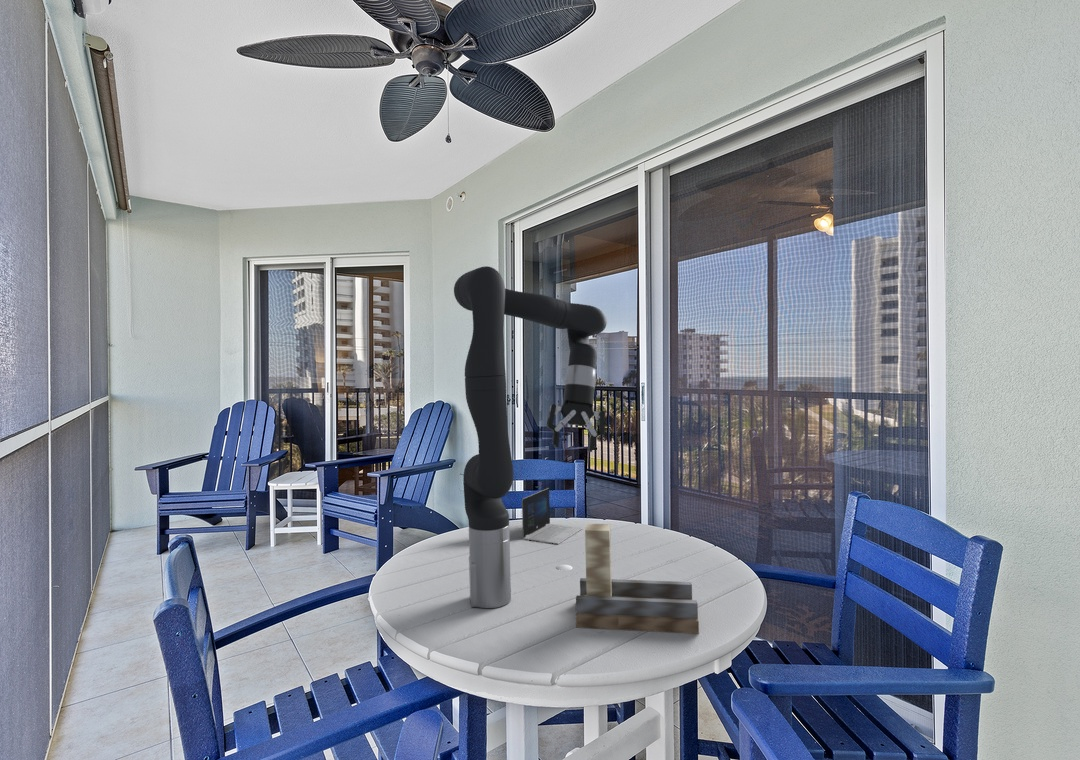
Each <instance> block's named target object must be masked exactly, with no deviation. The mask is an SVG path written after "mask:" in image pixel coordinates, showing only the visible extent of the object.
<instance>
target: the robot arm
mask: <svg viewBox="0 0 1080 760" xmlns="http://www.w3.org/2000/svg"><path fill="white" fill-rule="evenodd" d="M453 295H454V299H455V300H456V302H457V303H458V304H459V305H460V306H461V307H462V309H465V310H467V311H471V313H472V337H471V341H470V345H469V349H468V352H467V355H466V360H465V364H464V388H465V389H464V391H465V398H466V399H465V400H466V403H467V407H468V411H469V413H470V415H471V419H472V422H473V424H474V425H473V426H474V428H475V431H476V436H477V442H478V453H477V454H474V455H472V457H470V458H469V460H468V461H467V462H466V464H465V467H464V470H463V476H462V477H463V479H462V481H463V496H464V497H463V498H464V508H465V509H464V510H465V515H466V516H467V521H468V544H469V545H468V546H469V547H468V549H469V550H468V551H469V556H468V572H469V573H468V575H469V577H468V578H469V579H468V580H469V598H470V606H471V608H482V609H494V608H499V607H503V606H505V605H508V603H510V602H511V600H512V585H511V584H512V583H511V580H512V579H511V578H512V576H511V545H510V544H511V542H510V541H511V540H510V515H509V512H508V510H507V509H506V506H505V505H504V503H503V499H502V498H503V497H506V495H507V494H508V493H509V492H510V490H511V488H512V486H513V482H514V464H513V458H512V452H511V445H510V439H509V427H508V425H509V423H508V408H507V407H508V405H507V404H508V403H507V374H506V362H505V339H504V338H505V337H504V326H505V325H504V324H505V322H504V321H505V316H510V317H515V318H517V319H518V318H519V319H522V320H526V321H529V322H532V323H533V322H534V323H536V324H541V325H543V326H547V327H550V328H554V329H558V330H567V331H566V332H567V339H568V347H569V355H568V356H569V357H568V367H567V371H566V375H565V380H564V392H563V400H562V405H561V406H559V405H556V404H554V403H553V404H551V405H550V406H549V411H548V415H547V420H546V421H547V422H546V426H545V427H546V428H547V429H549V430H550V431H552V438H551V439H552V440H551V443H552V445H553V448H557V449H558V448H559V445H560V436H561V432H560V430H562V428H564V426H566V425H567V424H568V425H570V426H574V425H575V426H578V427H584V428H585V430H586V431H587V433H588V434H589V437H588V441H587V443H588V444H587V452H588V453H592V452H593V451H594V450H595V449H596V443H597V442H596V440H597V438H598V437H599V436H603V435H604V434H605V421H606V417H605V416H606V413H605V411H604V410H602V411H601V410H600V411H597V410H595V411H594V407H593V406H594V399H595V389H596V379H597V378H596V375H597V374H596V372H597V371H596V369H597V359H598V350H597V347H595V346H594V345H593V344H590V339H589V338H590V337H591V336H597V335H600V334H601V333H602V332H604V331H605V329H606V327H607V324H608V321H607V316H606V315H605V313H604V312H603V310H601V309H600V308H598V307H596V306H593V305H588V304H583V303H573V302H572V303H571V302H567V301H564V300H563V299H559V298H556V297H552V296H549V295H545V294H539V293H532V292H524V291H518V290H513V289H508V288H506V286H505V282H504V279H503V277H502V274H501V273H500V272H499V271H498V270H497V269H495V268H494V267H492V266H481V267H478V268H475V269H472V270H470V271H467V272H465V273H463V274H462V275H461V276H459V277H458V278H457V280H456V281H455V284H454V285H453ZM559 412H560V413H561V414H562V417H563V418H562V419H560V421H559V422H558V423H557V424H556V425H555V424H554V421H555V416H556V415H557V414H559ZM593 417H595V418H594V419H595V420H596V421H597V422H596V423H597V424H596V425H597V427H596V428H597V429H595V427H594V425H593V423H592V422H591V419H592V418H593Z"/></svg>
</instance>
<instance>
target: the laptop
mask: <svg viewBox="0 0 1080 760" xmlns="http://www.w3.org/2000/svg"><path fill="white" fill-rule="evenodd" d="M550 504H551V503H550V488H549V487H547V488H545V489H542V490H540V491H538V492H535V493H533V494H530V495H528V496H526V497H524V498H522V499H521V514H522V516H521V523H522V524H521V526H522V527H521V528H522V538H523V539H526V540H525V541H528V540H531V542H534V541H537V542H536V543H543V542H544V543H545V544H552V543H553V544H555V545H559V544H561V543H562V542H563V541H565V540H567V539H569V538H570V537H571V536H573V535H575V534H577V533H578V532H579V531H581V530H582V529H583V527H580V526H573V525H572V526H571V525H570V526H569V525H562V524H556V523H551V516H550V514H551V511H550V508H551V506H550Z"/></svg>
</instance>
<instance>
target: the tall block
mask: <svg viewBox="0 0 1080 760" xmlns="http://www.w3.org/2000/svg"><path fill="white" fill-rule="evenodd" d="M584 537H585V540H584V541H585V543H584V545H585V549H584V550H585V578H586V590H587V596H603V597H612V582H611V579H612V551H611V549H612V548H611V547H612V544H611V543H612V542H611V524H609V523H586V526H585V528H584Z"/></svg>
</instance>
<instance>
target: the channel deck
mask: <svg viewBox="0 0 1080 760" xmlns="http://www.w3.org/2000/svg"><path fill="white" fill-rule="evenodd" d="M611 582H612V597H603V596H587V590H586V577H581V578H579V588H580V589H579V593H580V594H579V595H575V596H576V597H575V612H576V613H575V628H579V629H580V628H581V629H599V630H617V631H619V630H620V631H635V632H636V631H639V632H656V633H657V632H659V633H677V634H678V633H679V634H694V635H695V634H697V635H699V634H700V632H699V629H700V628H699V625H700V624H699V609H698V605H699V604H698V601H697V600H696V599H693V585H692V582H691V581H672V580H671V581H667V580H642V579H616V578H615V579H614V578H611Z"/></svg>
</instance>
